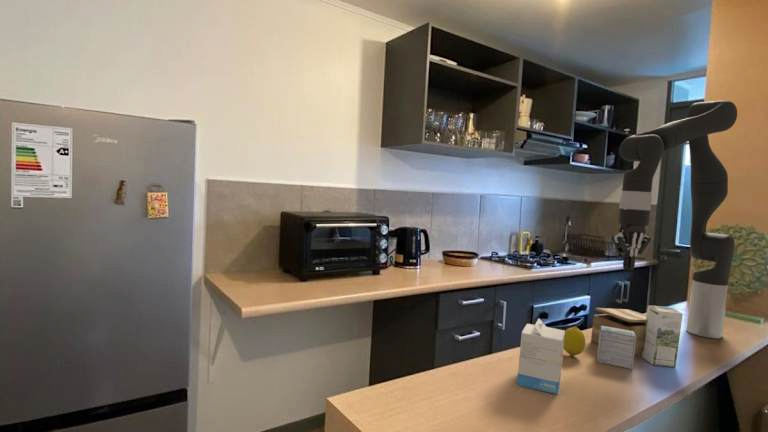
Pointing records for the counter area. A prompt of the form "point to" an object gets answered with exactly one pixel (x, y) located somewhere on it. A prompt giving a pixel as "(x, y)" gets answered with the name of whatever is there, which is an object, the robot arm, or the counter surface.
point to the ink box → (541, 357)
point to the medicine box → (616, 347)
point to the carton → (621, 324)
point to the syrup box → (662, 335)
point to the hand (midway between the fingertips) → (628, 269)
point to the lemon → (574, 341)
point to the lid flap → (624, 314)
